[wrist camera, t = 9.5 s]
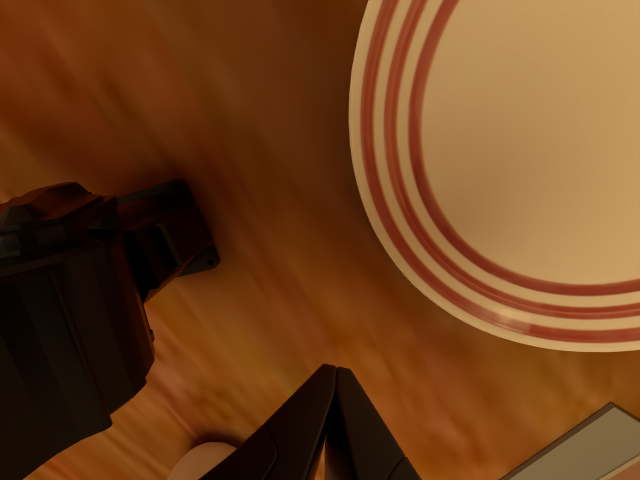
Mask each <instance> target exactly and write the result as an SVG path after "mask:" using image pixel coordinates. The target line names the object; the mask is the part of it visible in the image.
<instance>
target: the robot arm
mask: <svg viewBox="0 0 640 480" xmlns="http://www.w3.org/2000/svg"><path fill="white" fill-rule="evenodd" d="M177 184H179V185H180V186H181V190H179V189H178V188H177ZM210 259H212V260H213V261H214V263H211V262H210ZM219 262H220V261H219V257H218V255H217V253H216V250H215V248H214V246H213V243H212V238H211V235H210V233H209V231H208V228H207V226H206V224H205V222H204V219H203V217H202V215H201V212H200V210H199V208H198V207H197V206H196V204H195V202H194V199H193V197H192V195H191V193H190V190H189V188H188V186H187V184H186V182H185V181H184V180H182V179H176V180H173V181H170V182H167V183H164V184H161V185H158V186H155V187H151V188H148V189H145V190H142V191H139V192H136V193H133V194H129V195H126V196H123V197H120V198H117V199H116V196H114V195H111V196H102V195H97V194H92V193H91V192H88V191H87V190H86V189H84V188H83V187H82V186H81V185H79V184H78V183H77V182H65V183H61V184H56V185H52V186H47V187H43V188H39V189H36V190H33V191H30V192H28V193H26V194H25V195H23V196H22V197H17V198H13V199H11V200H10V201H8V202H7V203H3V204H0V480H23V479H24V478H25V477H27V476H28V475H29V474H30V473H32V472H33V471H34V470H36V469H37V468H38V467H40V466H41V465H42V464H44V463H45V462H46V461H48V460H49V459H51V458H52V457H54V456H55V455H56V454H58V453H60V452H61V451H63V450H65V449H67V448H68V447H70V446H72V445H73V444H75V443H77V442H79V441H80V440H82V439H85V438H87V437H89V436H92V435H94V434H97V433H99V432H101V431H104V430H106V429H108V428H110V427H111V425H112V420H111V417H110V415H111V414H113V413H114V412H115V411H117V410H118V409H119V408H120V407H122V406H123V405H124V404H126V403H127V402H128V401H130V400H131V399H132V398H133V397H134V396H135V395H136V394H137V393H138V392H139V391H140V390H141V389H142V388H143V387H144V386H145V384H146V382H147V381H146V376H147V374H148V372H149V370H150V368H151V366H152V364H153V362H154V350H155V349H154V346H153V341H154V334H153V331H152V330H150V327H149V323H148V320H147V316H146V312H145V309H144V304H145V303H146V302H147V301H148V300H150V299H151V298H152V297H153V296H154V295H156V294H157V293H158V292H159V291H160V290H161V289H163V288H164V287H165V286H166V285H167V284H169V283H170V282H171V281H172V280H173V279H174V278H176V277H180V276H184V275H188V274H193V273H197V272H201V271H205V270H209V269H213V268H215V267H216V266H217V265H218V264H219ZM325 437H326V438H325ZM324 441H325V480H422V479H421V478H420V477H419V475H418V474H417V472H416V471H415V469H414V468H413V466H412V464H411V463H410V461H409V460H408V458H407V457H405V454H404V453H403V451H402V449H401V448H400V446H399V445H398V443H397V442H396V440H395V438H394V437H393V435H392V434H391V432H390V431H389V429H388V427H387V426H386V424H385V423H384V421H383V420H382V418H381V416H380V415H379V413H378V412H377V410H376V409H375V407H374V405H373V404H372V402H371V401H370V399H369V397H368V396H367V394H366V393H365V391H364V390H363V388H362V386H361V385H360V383H359V382H358V380H357V379H356V377H355V375H354V374H353V372H352V371H351V370H350V369H348V368H343V367H337V369H336V366H334V365H329V364H322V365H321V366H320V367H319V368H318V369H317V370H316V371H315V372H314V373H313V374H312V375H311V376H310V378H309V379H308V380H307V381H306V382H305V383H304V384H303V385H302V386H301V387H300V388H299V389H298V390H297V391H296V392H295V393H294V394H293V395H292V396H291V397H290V398H289V399H288V400H287V401H286V402H285V403H284V404H283V405H282V406H281V407H280V408H279V409H278V410H277V411H276V412H275V413H274V414H273V415H272V416H271V417H270V418H269V419H268V420H267V421H266V422H265V423H264V424H263V425H261V426H260V427H259V428H258V429H257V430H256V431H255V432H254V433H253V434H252V435H251V436H250V437H249V438H248V439H247V440H246V441H245V442H244V443H243V444H242V445H241V446H240V447H238V448H237V449H236V450H235V451H234V452H232V453H231V454H230V455H229V456H227V457H226V458H225V459H224V460H222V461H221V462H220V463H219V464H217V465H216V466H215V467H213V468H212V469H211V470H210V471H208V472H207V473H206V474H204V475H203V476H202V477H200V478H199V479H198V480H315V476H316V472H317V468H318V465H319V461H320V457H321V454H322V450H323V446H324Z"/></svg>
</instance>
